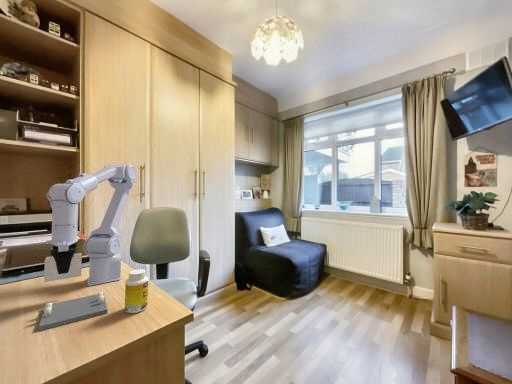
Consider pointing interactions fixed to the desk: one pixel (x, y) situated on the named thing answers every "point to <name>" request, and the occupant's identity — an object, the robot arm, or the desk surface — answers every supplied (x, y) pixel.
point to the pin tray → (72, 310)
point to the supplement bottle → (136, 291)
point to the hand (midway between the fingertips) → (63, 271)
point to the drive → (74, 271)
